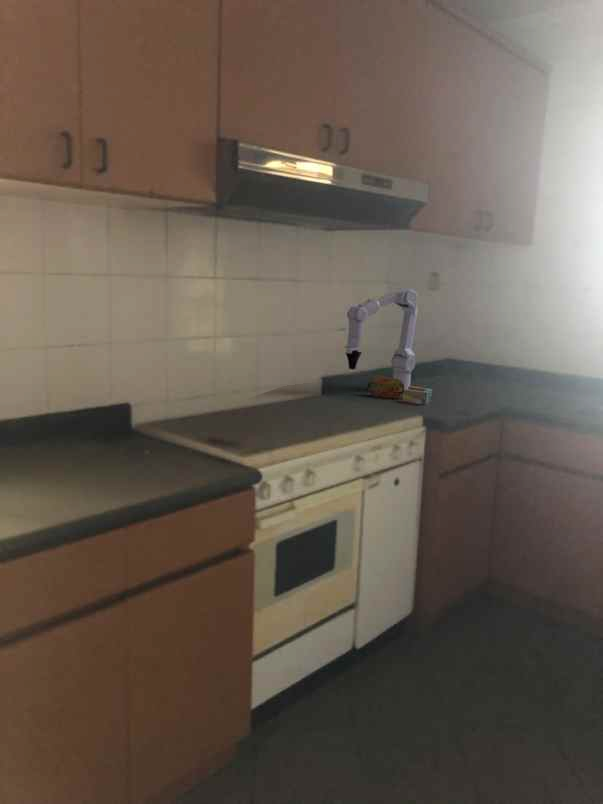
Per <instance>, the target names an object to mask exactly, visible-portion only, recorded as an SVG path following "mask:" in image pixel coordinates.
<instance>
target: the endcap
mask: <svg viewBox="0 0 603 804" xmlns="http://www.w3.org/2000/svg"><path fill="white" fill-rule="evenodd" d="M432 394H433V389H432V388H425V387H418V386H411V385H410V386H409V387H408V389H404V393H403V394H402V403H407V402H408V404H413V405H414V404H415V405H416V404H417V405H422V406H427V405H428V404H430V403H431V402H432Z"/></svg>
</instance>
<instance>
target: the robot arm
mask: <svg viewBox="0 0 603 804" xmlns="http://www.w3.org/2000/svg"><path fill="white" fill-rule="evenodd" d="M418 299H419V295H418V294H417V292H416V291H415V290H413V289H403V288H396V289H392V290H390V292H388V293H386V294H385V295H383V296H381V297H379V298H377V299H374V298H368V299H366V300H367V301H365V302H362V303H358V305H357V306H355V305H352V306H351V307H350V308H349V309H348V311H347V312H346V317H347V319H348V333H347V334H348V335H347V344H346V345H344V346H343V347H344V349H346V351H345V355H346V357H347V362H348V363H347V364H348V368H349V370H356V368H357V364H358V361H359V359H360V356H361V355H362V352H361V351H362V344H363V343H362V341H363V333H364V332H363V329H364V322H365V321H366V320H367V318H368V317H370V316H372V315H374V314H376V313H378V312H379V310H380V308H382V307H384V306H387V305H389V304H391V303H394V304H396V305H397V306H399V307H400V308H401V309H402V311H403V317H402V318H403V319H402V323H401V324H402V325H401V331H400V339H399V342H398V343H399V344H398V348H396V349H395V351H394V353H393V355H392V357H391V360H390V365H391V367H392V371H393V374H392V375H393V376H392V378H396V379H399V380H401V381H402V382H403V384H404V389H408V387H409V386H411V379H412V375H411V373H412V372H413V370H414V369H415V367H416V354H415V353H414V352H413V349H412V348H413V341H414V334H415V331H416V330H415V329H416V322H417V316H418V311H419V306H418ZM403 393H404V392H403Z"/></svg>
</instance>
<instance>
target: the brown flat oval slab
mask: <svg viewBox="0 0 603 804" xmlns="http://www.w3.org/2000/svg"><path fill="white" fill-rule="evenodd" d="M367 391H368V392H369V394H370V395H371V396H373V397H375V396H378V397H377V398H383V397H385V399H392V398H394V399H393V400H395V399H399V398H400V397H402V396H403V392H404V384H403V382H402V381H401V380H399V379H396V378H393V377H386V376H374V377H372V378H371V379H370V380H368V383H367Z"/></svg>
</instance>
